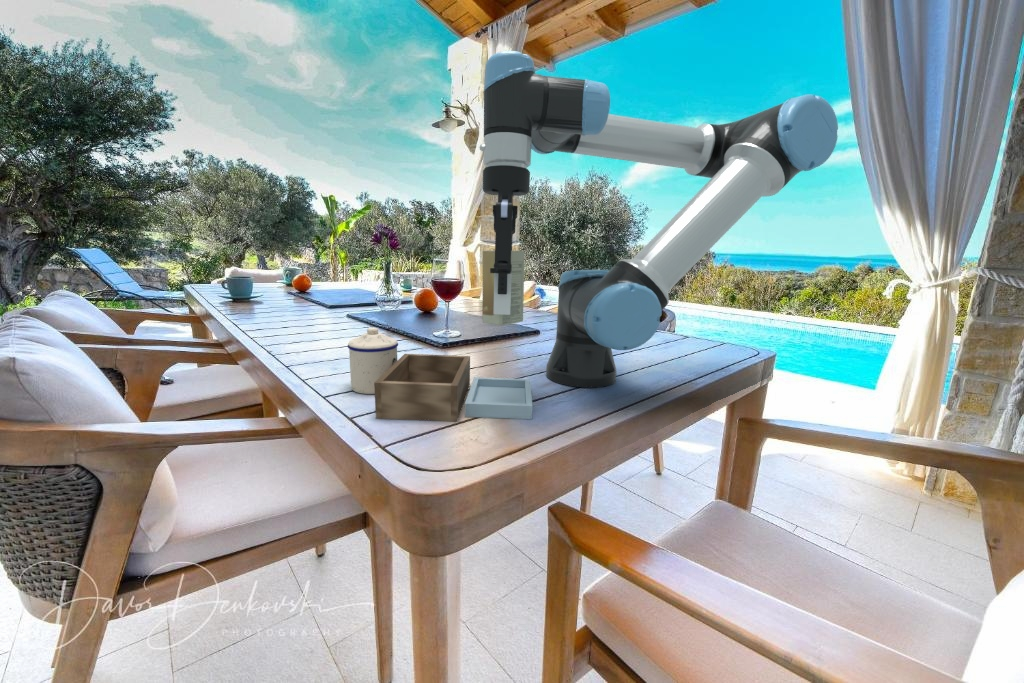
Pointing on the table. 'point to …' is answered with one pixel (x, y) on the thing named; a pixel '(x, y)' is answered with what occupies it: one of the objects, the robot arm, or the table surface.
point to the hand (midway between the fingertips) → (502, 310)
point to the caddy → (423, 388)
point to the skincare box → (516, 290)
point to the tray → (499, 398)
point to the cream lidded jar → (370, 359)
